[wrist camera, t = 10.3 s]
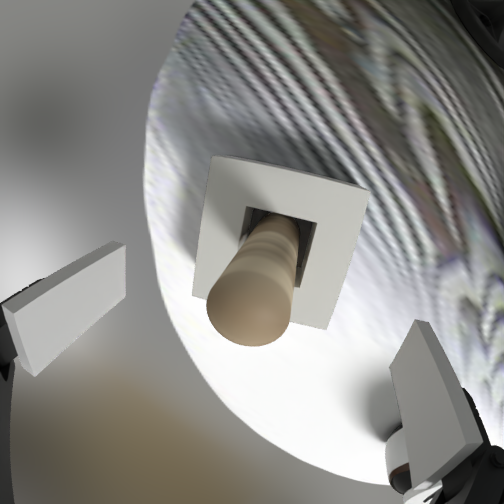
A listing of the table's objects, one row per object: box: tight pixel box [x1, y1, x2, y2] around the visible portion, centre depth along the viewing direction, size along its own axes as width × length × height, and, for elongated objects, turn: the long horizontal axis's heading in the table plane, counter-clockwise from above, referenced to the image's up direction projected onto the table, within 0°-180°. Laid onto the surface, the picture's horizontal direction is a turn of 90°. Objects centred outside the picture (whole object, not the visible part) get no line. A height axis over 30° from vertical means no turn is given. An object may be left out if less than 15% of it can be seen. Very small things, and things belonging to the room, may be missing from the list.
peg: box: [206, 212, 300, 346], centre depth 18 cm, size 4×4×13 cm
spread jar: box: [385, 424, 442, 504], centre depth 23 cm, size 12×11×12 cm
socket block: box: [192, 155, 370, 330], centre depth 22 cm, size 11×11×4 cm
